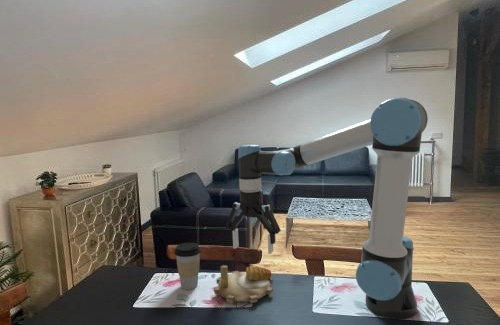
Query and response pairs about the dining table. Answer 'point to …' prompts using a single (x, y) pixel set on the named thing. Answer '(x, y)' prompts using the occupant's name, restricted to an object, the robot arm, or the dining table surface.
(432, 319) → the dining table surface
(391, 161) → the robot arm
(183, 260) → the coffee cup
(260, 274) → the pastry
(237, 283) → the turntable
